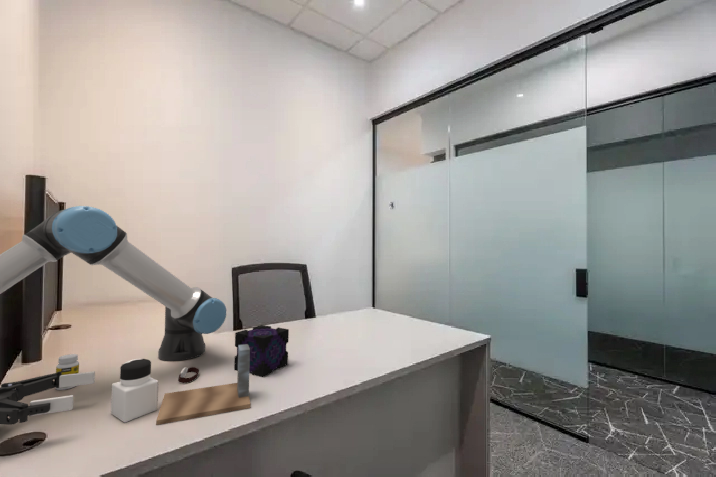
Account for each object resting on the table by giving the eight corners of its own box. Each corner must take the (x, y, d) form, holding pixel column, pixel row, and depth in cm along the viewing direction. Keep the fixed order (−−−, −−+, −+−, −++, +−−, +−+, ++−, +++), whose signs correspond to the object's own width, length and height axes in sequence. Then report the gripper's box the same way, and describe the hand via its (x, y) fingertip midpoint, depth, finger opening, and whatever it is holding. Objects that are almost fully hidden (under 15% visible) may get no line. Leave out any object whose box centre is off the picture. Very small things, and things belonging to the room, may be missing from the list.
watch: (188, 374, 100) (188, 362, 100) (203, 374, 100) (203, 362, 100) (173, 384, 92) (173, 372, 92) (189, 385, 92) (189, 372, 92)
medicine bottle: (157, 410, 78) (159, 360, 78) (124, 423, 72) (125, 369, 72) (143, 401, 82) (145, 354, 82) (110, 413, 76) (112, 362, 76)
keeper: (156, 425, 71) (158, 366, 72) (164, 397, 84) (166, 347, 84) (250, 407, 80) (251, 355, 80) (245, 385, 92) (246, 339, 93)
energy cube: (260, 358, 114) (261, 324, 114) (287, 364, 109) (288, 329, 109) (234, 370, 103) (235, 332, 103) (262, 377, 98) (263, 338, 98)
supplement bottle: (58, 392, 86) (59, 360, 86) (52, 387, 88) (53, 356, 88) (81, 385, 90) (82, 355, 90) (74, 381, 92) (75, 352, 92)
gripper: (-12, 398, 75) (100, 383, 84) (-108, 465, 53) (60, 435, 61) (-11, 366, 75) (101, 354, 84) (-106, 419, 53) (61, 395, 61)
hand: (84, 388), depth 73 cm, fingers open, 13 cm apart
